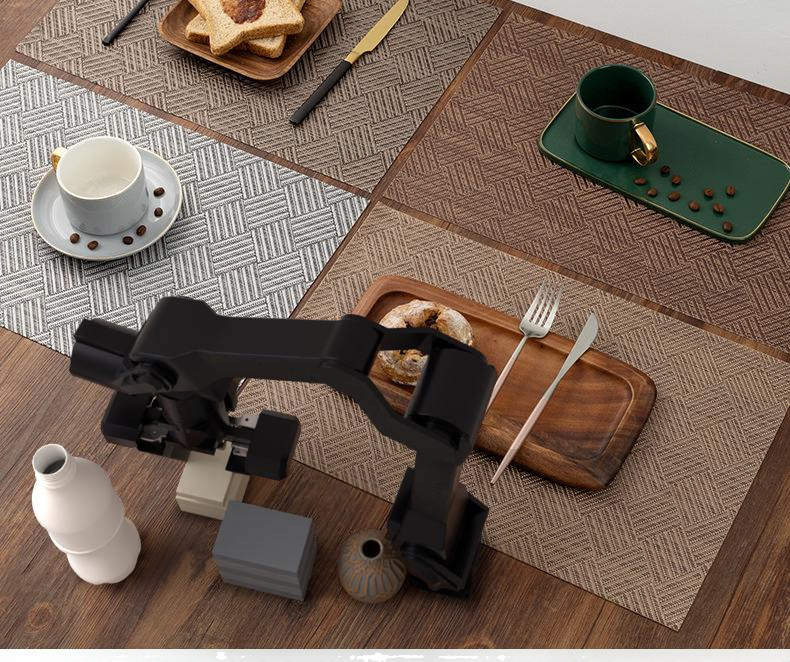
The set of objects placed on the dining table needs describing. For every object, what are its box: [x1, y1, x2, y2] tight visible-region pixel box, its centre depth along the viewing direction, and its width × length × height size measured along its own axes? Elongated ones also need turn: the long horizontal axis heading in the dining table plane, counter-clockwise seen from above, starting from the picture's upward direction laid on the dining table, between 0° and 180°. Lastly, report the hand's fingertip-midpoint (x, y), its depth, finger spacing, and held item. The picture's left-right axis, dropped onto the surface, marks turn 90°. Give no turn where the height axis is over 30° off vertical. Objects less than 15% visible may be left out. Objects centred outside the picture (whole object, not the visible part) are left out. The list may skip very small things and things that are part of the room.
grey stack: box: [211, 500, 319, 602], centre depth 113 cm, size 8×6×9 cm, turn 77°
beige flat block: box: [175, 440, 235, 506], centre depth 117 cm, size 8×5×1 cm, turn 167°
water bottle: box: [31, 443, 142, 586], centre depth 107 cm, size 7×7×25 cm
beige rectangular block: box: [175, 474, 251, 521], centre depth 120 cm, size 6×8×4 cm
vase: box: [337, 528, 408, 604], centre depth 113 cm, size 7×7×9 cm
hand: (212, 463), depth 117 cm, fingers closed on beige flat block, 5 cm apart
